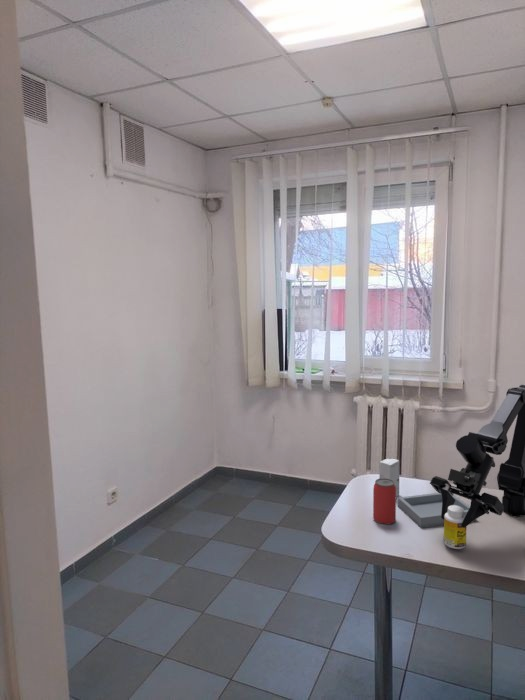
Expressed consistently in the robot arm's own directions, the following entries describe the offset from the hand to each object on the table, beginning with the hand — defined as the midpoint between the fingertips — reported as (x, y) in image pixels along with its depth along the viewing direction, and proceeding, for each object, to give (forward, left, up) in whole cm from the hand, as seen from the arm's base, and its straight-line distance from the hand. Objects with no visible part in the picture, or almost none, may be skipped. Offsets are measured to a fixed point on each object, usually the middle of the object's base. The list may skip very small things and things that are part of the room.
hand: (452, 522), depth 128 cm
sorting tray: (-7, -19, -7) cm, 22 cm away
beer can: (+10, -19, -8) cm, 23 cm away
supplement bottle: (-1, -1, -7) cm, 7 cm away
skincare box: (+1, -34, -8) cm, 35 cm away
